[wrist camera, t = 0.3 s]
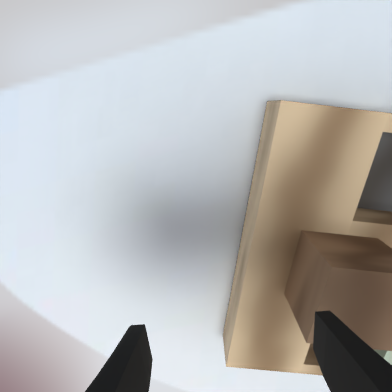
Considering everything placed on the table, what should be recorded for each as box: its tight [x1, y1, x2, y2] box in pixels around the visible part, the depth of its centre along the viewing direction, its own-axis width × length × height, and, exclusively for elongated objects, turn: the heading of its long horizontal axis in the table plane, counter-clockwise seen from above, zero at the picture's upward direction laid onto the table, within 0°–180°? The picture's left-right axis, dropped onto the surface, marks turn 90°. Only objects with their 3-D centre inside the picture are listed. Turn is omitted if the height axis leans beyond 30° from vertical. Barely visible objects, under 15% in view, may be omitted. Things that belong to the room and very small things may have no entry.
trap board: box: [223, 100, 392, 375], centre depth 19 cm, size 18×20×3 cm
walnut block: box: [284, 230, 392, 351], centre depth 16 cm, size 5×5×4 cm
